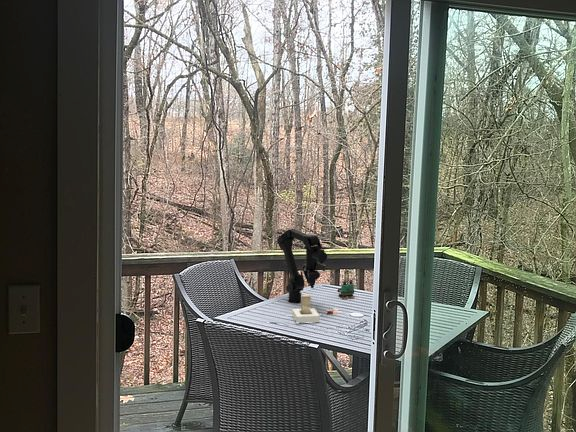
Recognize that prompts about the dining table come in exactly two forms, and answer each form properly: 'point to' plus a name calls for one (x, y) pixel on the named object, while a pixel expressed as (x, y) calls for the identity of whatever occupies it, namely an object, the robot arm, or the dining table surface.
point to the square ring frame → (305, 315)
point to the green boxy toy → (347, 290)
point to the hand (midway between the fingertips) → (310, 285)
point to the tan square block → (305, 304)
